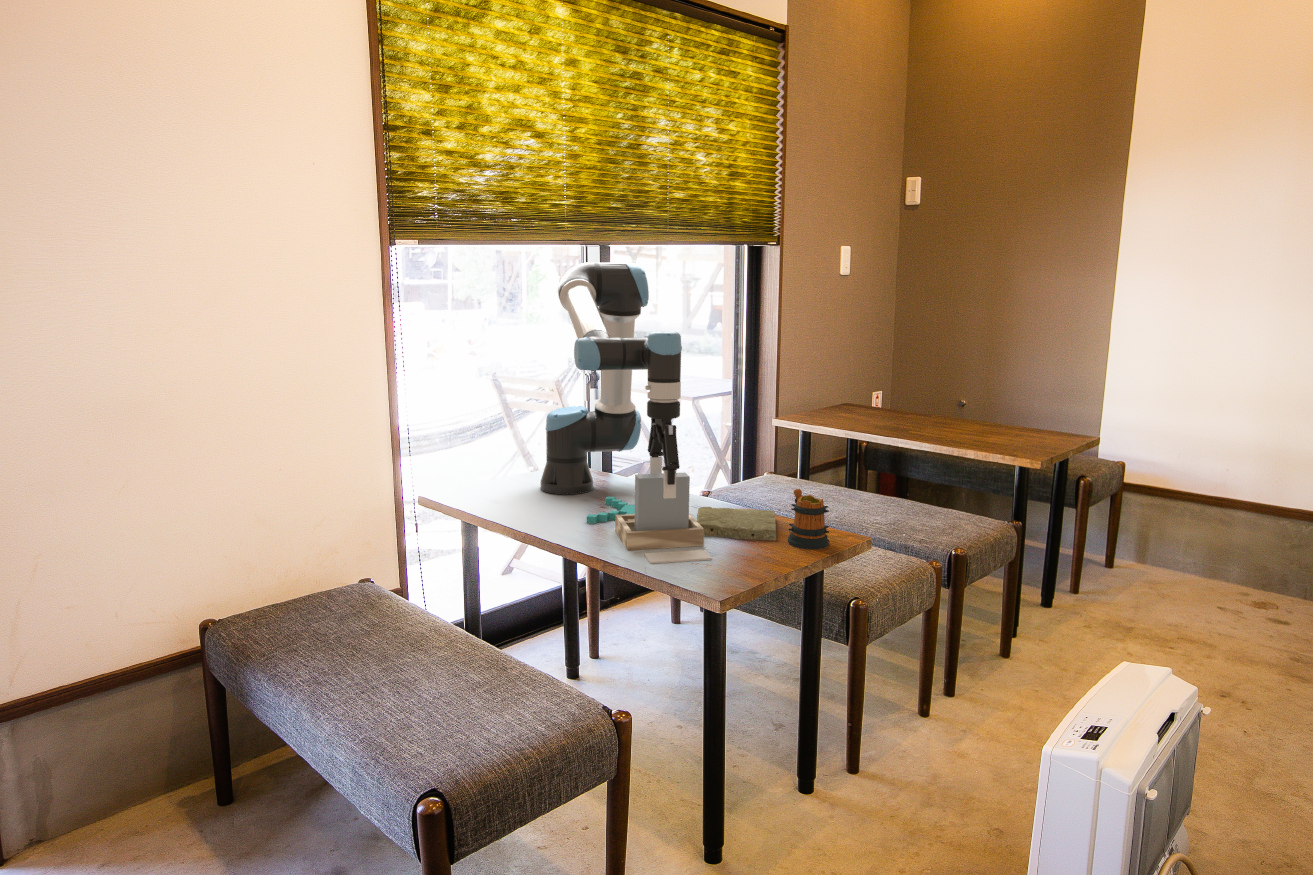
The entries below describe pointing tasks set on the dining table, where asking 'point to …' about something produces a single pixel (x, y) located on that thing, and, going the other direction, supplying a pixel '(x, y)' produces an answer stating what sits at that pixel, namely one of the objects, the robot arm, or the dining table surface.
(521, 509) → the dining table surface
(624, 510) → the alien figure
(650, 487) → the slate board
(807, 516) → the mug
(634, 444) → the robot arm
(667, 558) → the felt mat
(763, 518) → the decorative tile
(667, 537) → the rack
